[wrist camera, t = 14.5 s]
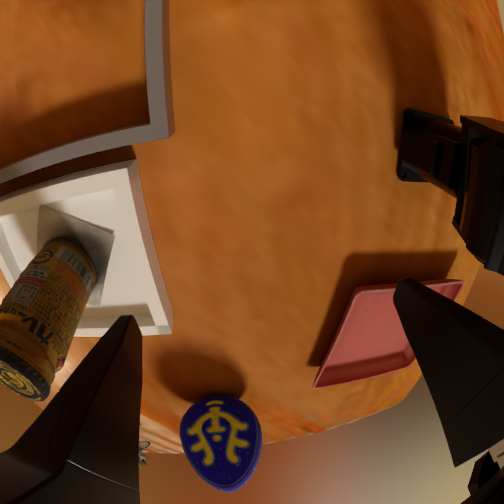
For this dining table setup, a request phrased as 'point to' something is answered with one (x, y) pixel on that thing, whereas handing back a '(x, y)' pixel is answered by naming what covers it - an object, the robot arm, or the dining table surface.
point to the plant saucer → (372, 335)
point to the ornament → (222, 441)
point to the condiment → (50, 301)
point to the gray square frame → (144, 132)
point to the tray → (103, 217)
